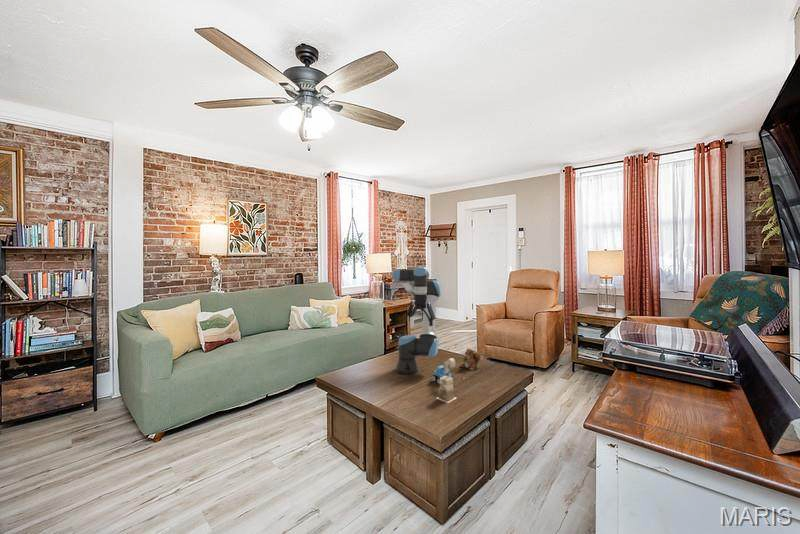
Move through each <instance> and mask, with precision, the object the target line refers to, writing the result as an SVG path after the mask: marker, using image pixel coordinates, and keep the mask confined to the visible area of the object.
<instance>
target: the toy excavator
mask: <svg viewBox="0 0 800 534" xmlns="http://www.w3.org/2000/svg"><path fill="white" fill-rule="evenodd" d="M454 367H456V360H455V358H453V357H451V358H448V359H447V360H445V361H444V363H443V365H438V366H436V367H435V370H434V372H433V375H432V376H431V377H432V381H433V382H436V383H437V384H438V385H440V378H442V377H444V376H448V377H451V378H452V374H451V373H450V369H449V368H454Z"/></svg>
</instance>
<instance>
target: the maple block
mask: <svg viewBox="0 0 800 534" xmlns="http://www.w3.org/2000/svg"><path fill="white" fill-rule="evenodd" d="M439 389H441V390H443V391H446V392H448V391H450V390H452V389H454V378H453V377H452V376H451V377H448V376H444V377H442V378H440V384H439Z"/></svg>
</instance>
